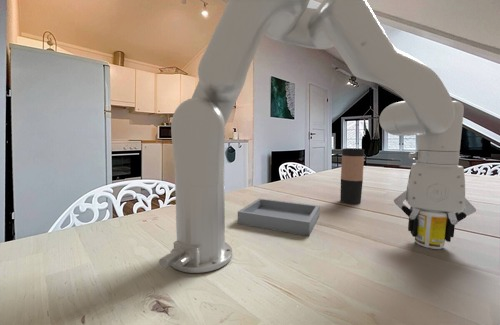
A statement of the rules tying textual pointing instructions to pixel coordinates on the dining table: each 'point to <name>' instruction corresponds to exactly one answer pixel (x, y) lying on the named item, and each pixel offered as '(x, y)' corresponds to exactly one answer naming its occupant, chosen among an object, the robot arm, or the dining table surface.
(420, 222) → the supplement bottle
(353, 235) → the dining table surface
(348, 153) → the travel mug
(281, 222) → the tray
